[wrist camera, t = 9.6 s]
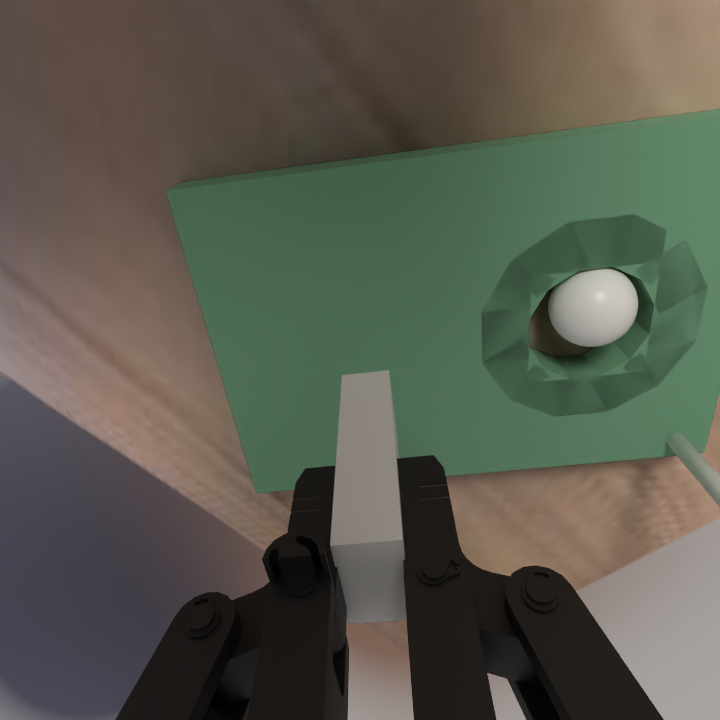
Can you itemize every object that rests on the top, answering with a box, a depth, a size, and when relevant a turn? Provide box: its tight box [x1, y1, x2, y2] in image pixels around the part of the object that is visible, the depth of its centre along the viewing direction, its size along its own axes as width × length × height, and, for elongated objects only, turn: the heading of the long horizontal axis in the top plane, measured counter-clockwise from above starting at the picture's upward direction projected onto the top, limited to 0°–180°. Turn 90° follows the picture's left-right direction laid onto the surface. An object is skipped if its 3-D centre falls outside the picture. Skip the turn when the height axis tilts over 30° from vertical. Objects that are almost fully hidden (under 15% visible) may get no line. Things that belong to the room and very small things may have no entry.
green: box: [165, 109, 720, 507], centre depth 17 cm, size 15×22×14 cm
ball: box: [548, 267, 638, 347], centre depth 21 cm, size 3×3×3 cm
